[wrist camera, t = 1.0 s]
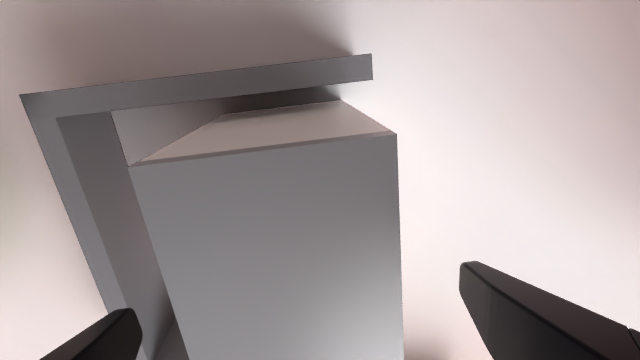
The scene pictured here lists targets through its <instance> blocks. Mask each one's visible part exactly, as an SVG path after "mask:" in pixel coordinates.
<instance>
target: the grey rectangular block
mask: <svg viewBox="0 0 640 360" xmlns="http://www.w3.org/2000/svg"><path fill="white" fill-rule="evenodd" d="M127 168H128V171H129V174H130V177H131V180H132V183H133V186H134V190H135V193H136V196H137V199H138V202H139V205H140V208H141V211H142V214H143V217H144V220H145V224H146V227H147V230H148V233H149V236H150V239H151V242H152V245H153V248H154V251H155V254H156V258H157V261H158V264H159V267H160V270H161V273H162V276H163V279H164V282H165V285H166V288H167V292H168V295H169V298H170V301H171V304H172V307H173V310H174V313H175V316H176V319H177V322H178V326H179V329H180V332H181V335H182V338H183V341H184V344H185V347H186V350H187V353H188V356H189V360H404V342H403V311H402V280H401V249H400V218H399V187H398V156H397V134H396V133H394V132H393V131H391V130H389V129H388V128H386V127H385V126H383V125H381V124H380V123H378V122H376V121H375V120H373V119H372V118H370V117H368V116H367V115H365V114H364V113H362V112H360V111H359V110H357V109H355V108H354V107H352V106H351V105H349V104H347V103H346V102H344V101H343V100H337V101H328V102H320V103H312V104H303V105H295V106H287V107H279V108H270V109H262V110H254V111H245V112H237V113H229V114H223V115H221V116H219V117H218V118H216V119H214V120H212V121H210V122H209V123H207V124H205V125H203V126H201V127H200V128H198V129H196V130H194V131H192V132H191V133H189V134H187V135H185V136H183V137H181V138H180V139H178V140H176V141H174V142H172V143H171V144H169V145H167V146H165V147H163V148H162V149H160V150H158V151H156V152H154V153H153V154H151V155H149V156H147V157H145V158H144V159H142V160H140V161H138V162H136V163H135V164H133V165H131V166H129V167H127Z"/></svg>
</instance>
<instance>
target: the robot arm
mask: <svg viewBox="0 0 640 360" xmlns="http://www.w3.org/2000/svg"><path fill="white" fill-rule="evenodd" d="M459 290H460V294H461V297H462V299H463V301H464V303H465V305H466V307H467V309H468V311H469V313H470V315H471V317H472V319H473V321H474V323H475V325H476V327H477V330H478V332H479V334H480V336H481V338H482V340H483V342H484V344H485V345H486V347H487V349H488V351H489V353H490V354H491V356H492V358H493V359H494V360H640V332H638V331H636V330H634V329H631V328H630V329H628V328H627V327H626V326H625V325H622V324H620V323H618V322H615V321H613V320H611V319H609V318H606V317H604V316H602V315H599V314H597V313H595V312H592V311H590V310H588V309H586V308H583V307H581V306H579V305H576V304H574V303H572V302H570V301H567V300H565V299H563V298H560V297H558V296H556V295H553V294H551V293H549V292H547V291H544V290H542V289H540V288H537V287H535V286H533V285H531V284H528V283H526V282H524V281H521V280H519V279H517V278H514V277H512V276H510V275H508V274H505V273H503V272H501V271H498V270H496V269H494V268H492V267H489V266H487V265H485V264H482V263H480V262H478V261H471V262H463V263H462V264H461V265H460V278H459ZM142 339H143V332H142V328H141V326H140V323H139V320H138V318H137V315H136V312H135V310H134V309H133V308H123V309H117V310H114V311H113V312H111V313H109V314H108V315H106V316H105V317H103V318H102V319H100V320H99V321H97V322H96V323H94V324H93V325H91V326H90V327H88V328H87V329H85V330H84V331H82V332H81V333H79V334H78V335H76V336H75V337H73V338H71V339H70V340H68V341H67V342H65V343H64V344H62V345H61V346H59V347H58V348H56V349H55V350H53V351H52V352H50V353H49V354H47V355H46V356H44V357H43V358H41V359H40V360H136V358H137V355H138V352H139V349H140V346H141V343H142Z"/></svg>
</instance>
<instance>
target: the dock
mask: <svg viewBox="0 0 640 360" xmlns="http://www.w3.org/2000/svg"><path fill="white" fill-rule="evenodd" d="M366 80H373V72H372V54H362V55H354V56H345V57H337V58H328V59H319V60H311V61H302V62H294V63H285V64H277V65H268V66H260V67H251V68H242V69H234V70H225V71H217V72H208V73H200V74H191V75H183V76H174V77H165V78H157V79H148V80H140V81H131V82H123V83H114V84H106V85H97V86H89V87H80V88H71V89H63V90H54V91H46V92H37V93H29V94H20V95H19V96H20V98H21V101H22V103H23V106H24V108H25V111H26V113H27V116H28V118H29V120H30V123H31V125H32V128H33V130H34V133H35V135H36V138H37V140H38V143H39V145H40V147H41V150H42V152H43V155H44V157H45V160H46V162H47V165H48V167H49V170H50V172H51V174H52V177H53V179H54V182H55V184H56V187H57V189H58V192H59V194H60V196H61V199H62V201H63V204H64V206H65V209H66V211H67V214H68V216H69V219H70V221H71V223H72V226H73V228H74V231H75V233H76V236H77V238H78V241H79V243H80V246H81V248H82V250H83V253H84V255H85V258H86V260H87V263H88V265H89V268H90V270H91V273H92V275H93V277H94V280H95V282H96V285H97V287H98V290H99V292H100V295H101V297H102V299H103V302H104V304H105V307H106V309H107V312H108V314H109V313H111V312H113V311H114V310H117V309H123V308H133V309H134V310H135V312H136V315H137V318H138V320H139V323H140V326H141V328H142V332H143V339H142V343H141V346H140V349H139V352H138V355H137V358H136V360H189V356H188V353H187V350H186V347H185V344H184V341H183V338H182V335H181V332H180V329H179V326H178V322H177V319H176V316H175V313H174V310H173V307H172V304H171V301H170V298H169V295H168V292H167V288H166V285H165V282H164V279H163V276H162V273H161V270H160V267H159V264H158V261H157V258H156V254H155V251H154V248H153V245H152V242H151V239H150V236H149V233H148V230H147V227H146V224H145V220H144V217H143V214H142V211H141V208H140V205H139V202H138V199H137V196H136V193H135V190H134V186H133V183H132V180H131V177H130V174H129V171H128V168H127V167H128V166H127V163H126V160H125V157H124V154H123V151H122V148H121V144H120V141H119V138H118V135H117V132H116V129H115V126H114V123H113V120H112V117H111V113H110V111H114V110H123V109H131V108H140V107H148V106H156V105H165V104H173V103H181V102H190V101H198V100H207V99H215V98H223V97H232V96H240V95H249V94H257V93H265V92H274V91H282V90H291V89H299V88H307V87H316V86H324V85H333V84H341V83H349V82H358V81H366Z"/></svg>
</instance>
